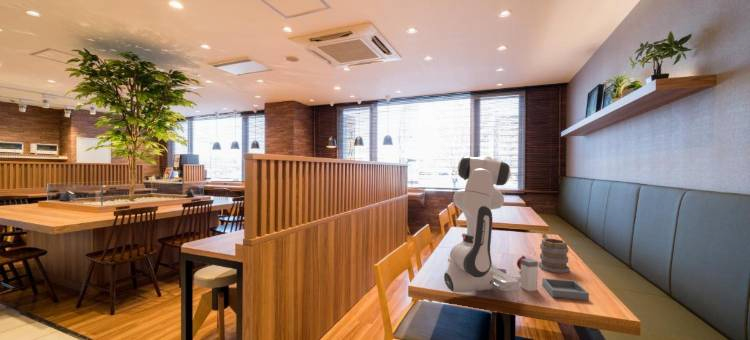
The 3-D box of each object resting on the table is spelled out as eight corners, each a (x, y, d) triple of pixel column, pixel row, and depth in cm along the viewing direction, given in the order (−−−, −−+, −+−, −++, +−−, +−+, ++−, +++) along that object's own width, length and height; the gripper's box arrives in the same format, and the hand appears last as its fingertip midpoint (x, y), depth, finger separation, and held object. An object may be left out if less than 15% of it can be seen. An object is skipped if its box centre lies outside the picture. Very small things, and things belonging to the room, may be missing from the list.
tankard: (573, 274, 145) (573, 242, 145) (544, 272, 148) (544, 241, 147) (557, 260, 165) (557, 233, 164) (531, 259, 167) (532, 232, 167)
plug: (528, 291, 125) (528, 262, 125) (520, 287, 130) (520, 259, 129) (537, 290, 126) (537, 261, 126) (529, 286, 131) (529, 258, 130)
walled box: (552, 297, 119) (552, 290, 119) (542, 285, 132) (542, 278, 132) (588, 300, 117) (588, 293, 117) (574, 287, 129) (574, 280, 129)
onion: (532, 273, 146) (533, 256, 146) (523, 274, 144) (523, 257, 144) (523, 269, 151) (524, 253, 151) (514, 270, 150) (514, 254, 150)
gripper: (500, 280, 112) (531, 276, 116) (469, 262, 132) (497, 259, 136) (500, 297, 112) (531, 293, 116) (469, 276, 132) (497, 273, 136)
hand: (512, 275), depth 126 cm, fingers open, 8 cm apart
